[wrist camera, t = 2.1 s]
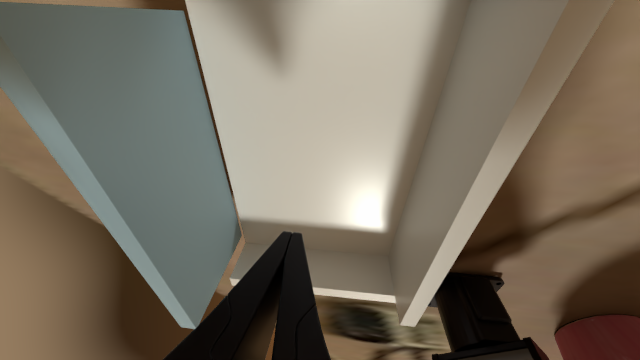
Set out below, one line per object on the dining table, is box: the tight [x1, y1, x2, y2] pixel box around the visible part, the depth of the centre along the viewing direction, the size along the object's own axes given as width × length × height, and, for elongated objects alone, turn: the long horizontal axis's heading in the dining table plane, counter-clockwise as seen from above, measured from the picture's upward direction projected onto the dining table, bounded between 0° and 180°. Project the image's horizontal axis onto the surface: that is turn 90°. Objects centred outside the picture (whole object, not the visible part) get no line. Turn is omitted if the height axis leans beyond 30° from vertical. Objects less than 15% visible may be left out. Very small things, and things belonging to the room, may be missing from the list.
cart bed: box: [185, 0, 615, 327], centre depth 14 cm, size 20×14×8 cm
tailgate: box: [0, 2, 242, 329], centre depth 13 cm, size 16×2×8 cm, turn 179°
